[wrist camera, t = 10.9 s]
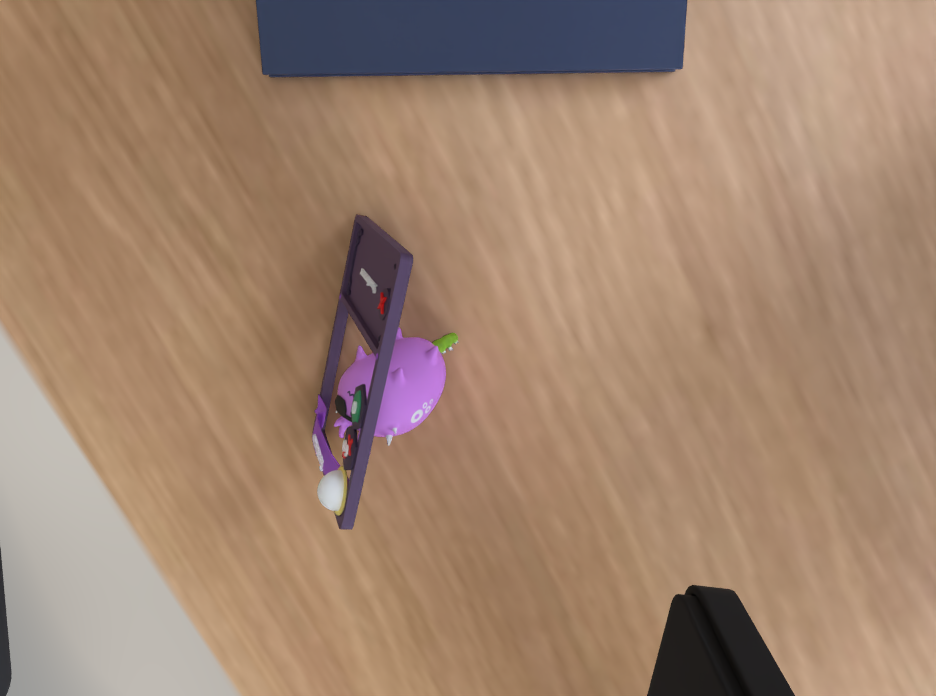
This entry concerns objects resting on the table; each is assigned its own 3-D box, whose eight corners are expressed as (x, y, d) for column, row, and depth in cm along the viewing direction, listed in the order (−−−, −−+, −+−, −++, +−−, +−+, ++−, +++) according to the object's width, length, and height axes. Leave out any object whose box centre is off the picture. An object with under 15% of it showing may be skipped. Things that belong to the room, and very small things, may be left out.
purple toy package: (375, 249, 19) (316, 532, 21) (541, 279, 21) (470, 534, 23) (335, 209, 25) (292, 433, 27) (467, 236, 27) (417, 442, 29)
